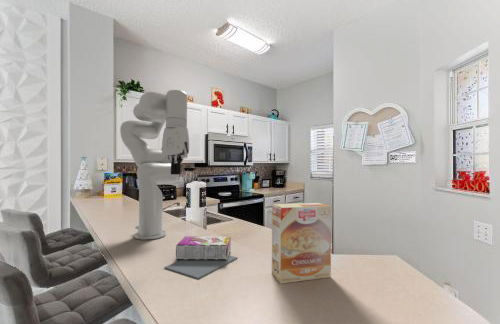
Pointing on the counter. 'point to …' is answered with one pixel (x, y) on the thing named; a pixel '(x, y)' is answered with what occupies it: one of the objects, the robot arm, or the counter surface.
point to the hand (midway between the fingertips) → (175, 174)
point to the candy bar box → (203, 248)
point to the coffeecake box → (301, 241)
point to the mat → (198, 266)
